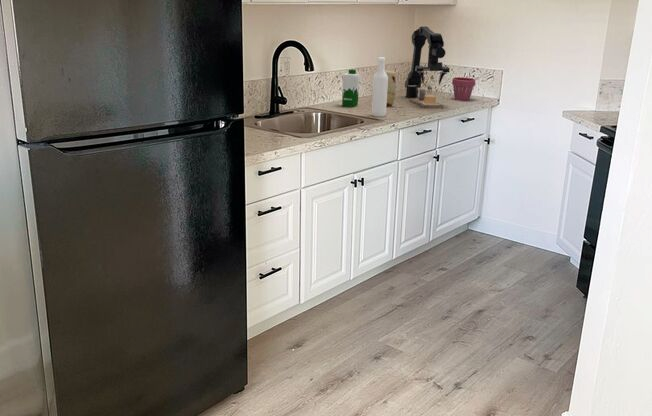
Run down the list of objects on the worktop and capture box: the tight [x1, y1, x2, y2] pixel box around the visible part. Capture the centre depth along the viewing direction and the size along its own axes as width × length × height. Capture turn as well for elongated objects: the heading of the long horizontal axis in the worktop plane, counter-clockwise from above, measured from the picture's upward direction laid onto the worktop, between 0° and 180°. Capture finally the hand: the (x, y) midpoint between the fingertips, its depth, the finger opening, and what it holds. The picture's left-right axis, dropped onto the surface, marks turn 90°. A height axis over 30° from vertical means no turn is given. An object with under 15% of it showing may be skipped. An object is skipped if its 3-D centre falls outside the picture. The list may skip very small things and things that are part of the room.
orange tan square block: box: [424, 94, 437, 104], centre depth 363 cm, size 6×6×4 cm
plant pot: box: [451, 76, 477, 101], centre depth 388 cm, size 14×14×13 cm
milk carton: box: [341, 69, 360, 108], centre depth 354 cm, size 9×9×20 cm
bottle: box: [370, 56, 388, 118], centre depth 328 cm, size 8×8×30 cm
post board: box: [408, 89, 444, 109], centre depth 368 cm, size 24×12×8 cm, turn 14°
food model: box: [385, 70, 397, 107], centre depth 359 cm, size 10×7×20 cm
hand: (431, 84), depth 360 cm, fingers open, 9 cm apart
